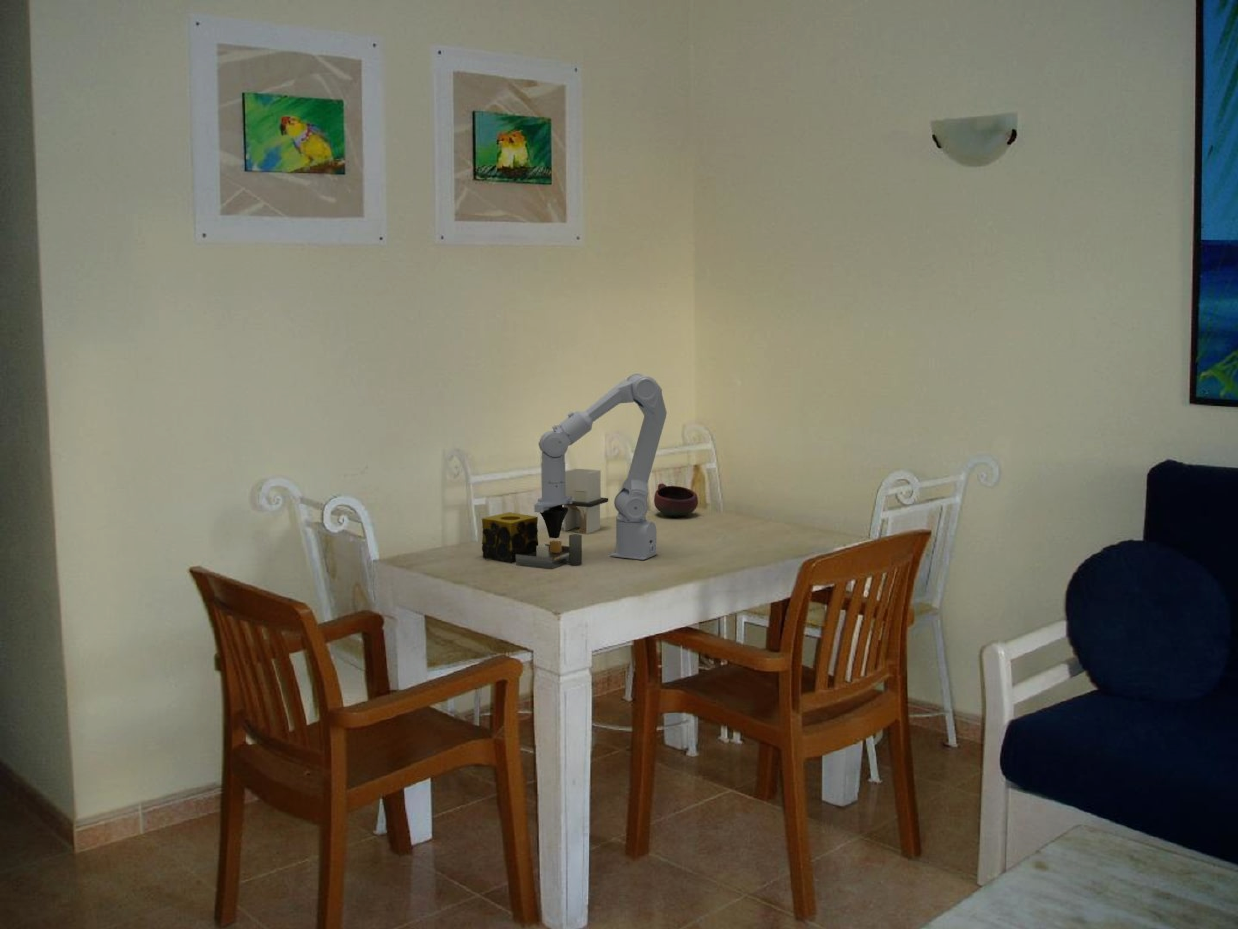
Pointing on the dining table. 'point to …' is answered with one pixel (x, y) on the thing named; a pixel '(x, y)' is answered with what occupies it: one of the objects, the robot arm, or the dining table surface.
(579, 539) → the post
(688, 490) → the bowl
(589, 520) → the model fireplace
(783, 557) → the dining table surface
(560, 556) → the grey tray
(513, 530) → the candle
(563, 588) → the dining table surface
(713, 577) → the dining table surface
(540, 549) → the upright cream block
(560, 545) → the tan rectangular prism
